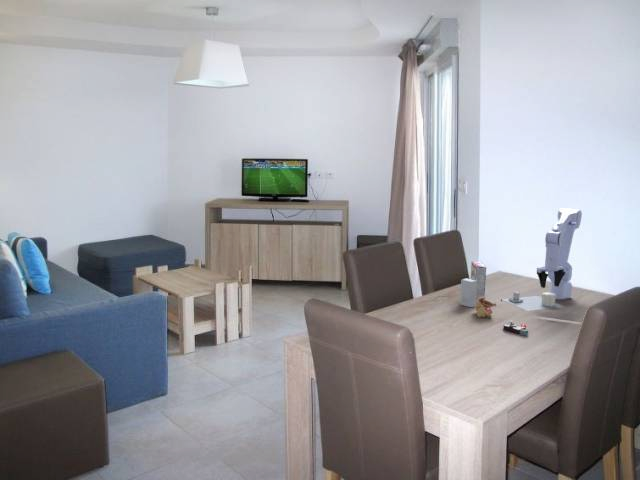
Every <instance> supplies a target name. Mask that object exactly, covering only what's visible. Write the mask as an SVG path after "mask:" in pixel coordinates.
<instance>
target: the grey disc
mask: <svg viewBox="0 0 640 480" xmlns="http://www.w3.org/2000/svg"><path fill="white" fill-rule="evenodd" d="M520 296H521V294H520V292H519V291H514V292H513V296H512V297H510V299H509V298H508V299H509V301H510V302H513V303H522V302H523V300H522V299H519V298H520Z"/></svg>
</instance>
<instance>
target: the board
mask: <svg viewBox="0 0 640 480" xmlns="http://www.w3.org/2000/svg"><path fill="white" fill-rule="evenodd" d="M510 298H511V297H510ZM510 298H509V297H508V298H501V299H500V302H502V301H504V302H507V303H509V304H510V305H513V306H515V307H516V308H520V309H522V310H524V311H526V312H529V311H530V312H531V311H539V310H549V309H558V308H565V306H564V305H561V304H559V303H558V302H555V305H554V306H544V305H542V304H541V303H542V296H539V295H531V296H523V297H520V296H519V299H522V300H523V302H522V303H513V302H510V301H509V299H510Z"/></svg>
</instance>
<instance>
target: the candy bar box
mask: <svg viewBox="0 0 640 480" xmlns="http://www.w3.org/2000/svg"><path fill="white" fill-rule="evenodd" d="M470 263H471V264H470V279H471V280H475V281H477V293H476V300H477V299H478V298H480V297H485V294H486V281H487V280H486V279H487V278H486V277H487V266H485V265H484V264H485V263H483V262H481V261H473V260H472V261H471V262H470Z"/></svg>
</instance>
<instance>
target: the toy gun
mask: <svg viewBox="0 0 640 480" xmlns="http://www.w3.org/2000/svg"><path fill="white" fill-rule="evenodd" d="M526 325H527V324H524V323H523V324H521V325H520V326H518V325H515V324H514V323H513V320H512V319H510V321H509V322H507V323H506V324H503V331H506V332H508V333H512V334H515V335H520V336H521V337H522V336H523V337H526V335H527V336H528V335H529V332H528V330H526V328H527V326H526Z"/></svg>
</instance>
